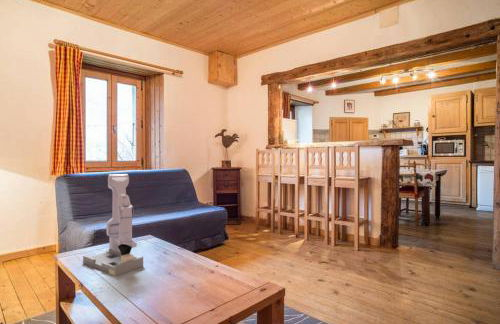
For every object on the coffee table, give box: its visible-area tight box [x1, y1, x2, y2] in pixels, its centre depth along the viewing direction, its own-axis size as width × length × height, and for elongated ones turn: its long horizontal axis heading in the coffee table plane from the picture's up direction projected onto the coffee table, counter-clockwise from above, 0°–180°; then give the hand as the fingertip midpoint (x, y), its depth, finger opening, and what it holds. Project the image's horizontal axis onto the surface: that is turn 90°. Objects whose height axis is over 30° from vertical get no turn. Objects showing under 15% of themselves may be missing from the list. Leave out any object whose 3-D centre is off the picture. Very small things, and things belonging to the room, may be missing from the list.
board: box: [82, 248, 144, 277], centre depth 140 cm, size 14×28×4 cm, turn 57°
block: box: [121, 253, 135, 263], centre depth 136 cm, size 4×4×4 cm
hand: (125, 259), depth 139 cm, fingers closed
